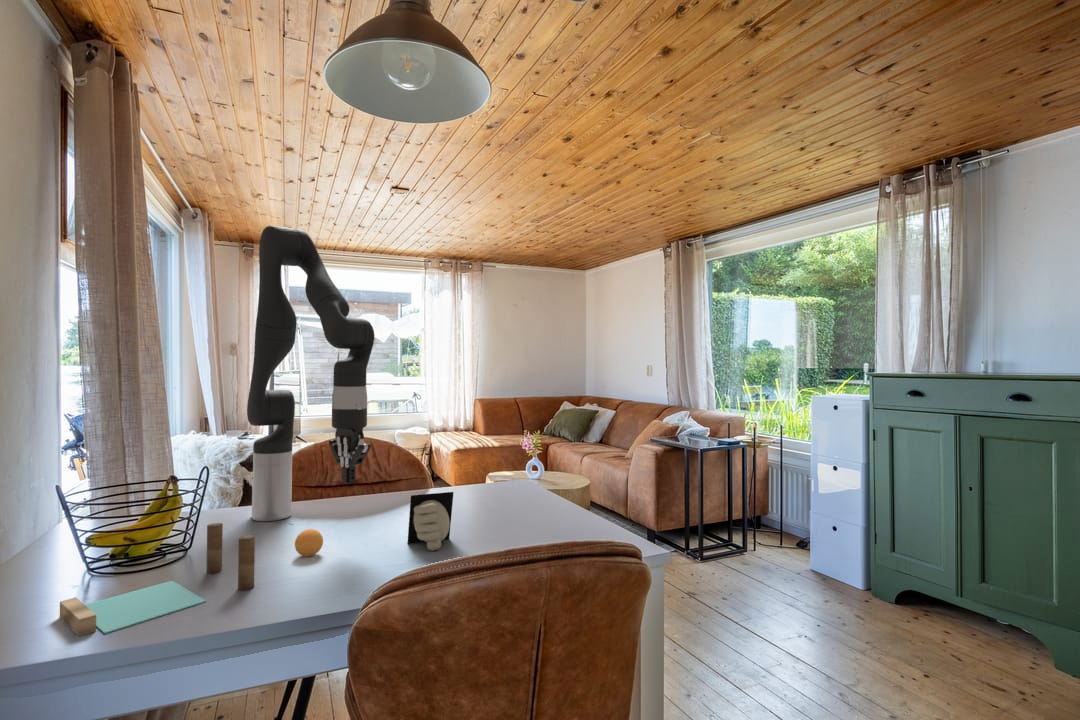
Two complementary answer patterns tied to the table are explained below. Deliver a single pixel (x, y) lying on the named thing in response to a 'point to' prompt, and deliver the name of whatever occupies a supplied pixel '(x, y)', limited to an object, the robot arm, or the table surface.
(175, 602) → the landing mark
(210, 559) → the post
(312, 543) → the ball
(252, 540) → the post
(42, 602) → the table surface
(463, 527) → the table surface
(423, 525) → the decorative object
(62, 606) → the rail
